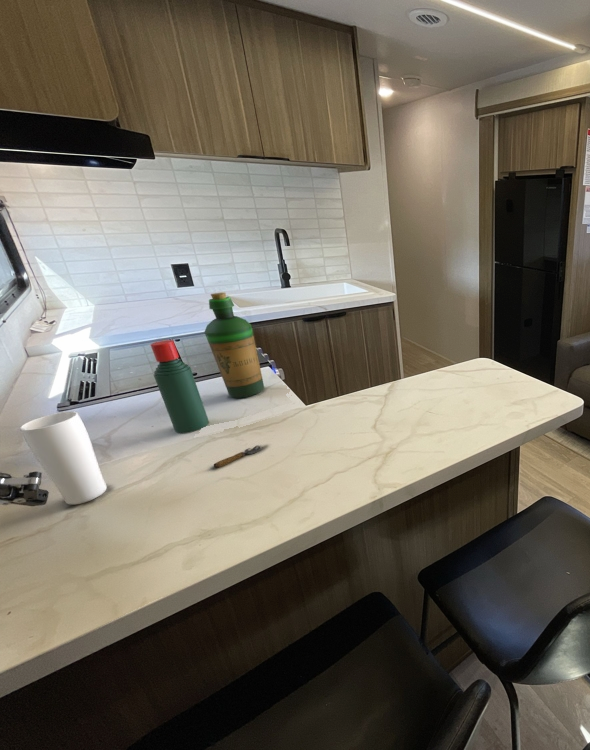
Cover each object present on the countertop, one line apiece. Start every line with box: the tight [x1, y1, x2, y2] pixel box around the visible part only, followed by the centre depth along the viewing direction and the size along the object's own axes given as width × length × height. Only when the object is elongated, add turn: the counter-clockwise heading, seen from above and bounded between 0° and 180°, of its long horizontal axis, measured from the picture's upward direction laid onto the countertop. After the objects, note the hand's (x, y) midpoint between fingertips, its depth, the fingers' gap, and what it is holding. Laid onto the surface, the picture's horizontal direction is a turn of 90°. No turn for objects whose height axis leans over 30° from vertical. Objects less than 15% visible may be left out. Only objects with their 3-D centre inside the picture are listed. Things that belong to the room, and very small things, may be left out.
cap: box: [150, 339, 180, 363], centre depth 88 cm, size 4×4×4 cm
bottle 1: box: [153, 358, 210, 434], centre depth 91 cm, size 7×7×20 cm
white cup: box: [19, 411, 108, 506], centre depth 68 cm, size 7×7×15 cm
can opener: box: [213, 444, 264, 469], centre depth 80 cm, size 9×2×1 cm, turn 140°
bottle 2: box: [204, 292, 265, 399], centre depth 109 cm, size 11×11×28 cm
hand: (42, 498), depth 62 cm, fingers closed
